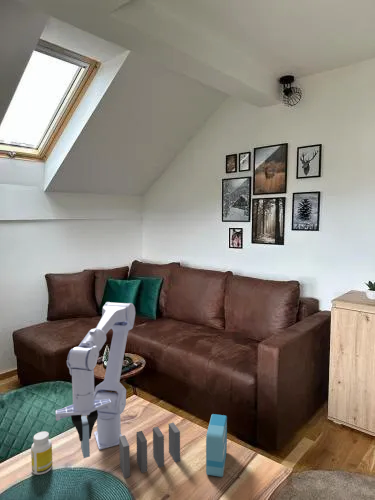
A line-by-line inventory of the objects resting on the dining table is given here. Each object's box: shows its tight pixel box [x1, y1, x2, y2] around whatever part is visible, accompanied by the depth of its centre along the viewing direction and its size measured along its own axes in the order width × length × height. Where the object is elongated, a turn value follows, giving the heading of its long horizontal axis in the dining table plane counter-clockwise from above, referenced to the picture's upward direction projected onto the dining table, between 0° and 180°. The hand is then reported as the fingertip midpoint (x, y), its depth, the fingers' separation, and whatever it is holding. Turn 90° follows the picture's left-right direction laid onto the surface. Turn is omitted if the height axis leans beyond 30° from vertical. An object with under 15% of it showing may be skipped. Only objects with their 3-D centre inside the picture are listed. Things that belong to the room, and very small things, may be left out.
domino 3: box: [152, 426, 165, 468], centre depth 100 cm, size 5×2×9 cm, turn 24°
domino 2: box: [136, 430, 148, 474], centre depth 97 cm, size 5×2×9 cm, turn 24°
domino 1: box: [118, 434, 131, 479], centre depth 95 cm, size 5×2×9 cm, turn 24°
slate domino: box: [80, 415, 91, 459], centre depth 94 cm, size 5×2×9 cm, turn 25°
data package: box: [205, 413, 228, 478], centre depth 98 cm, size 12×4×12 cm, turn 168°
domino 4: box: [168, 422, 181, 463], centre depth 102 cm, size 5×2×9 cm, turn 24°
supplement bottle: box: [30, 430, 53, 475], centre depth 97 cm, size 5×5×10 cm
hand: (84, 438), depth 95 cm, fingers closed on slate domino, 1 cm apart
